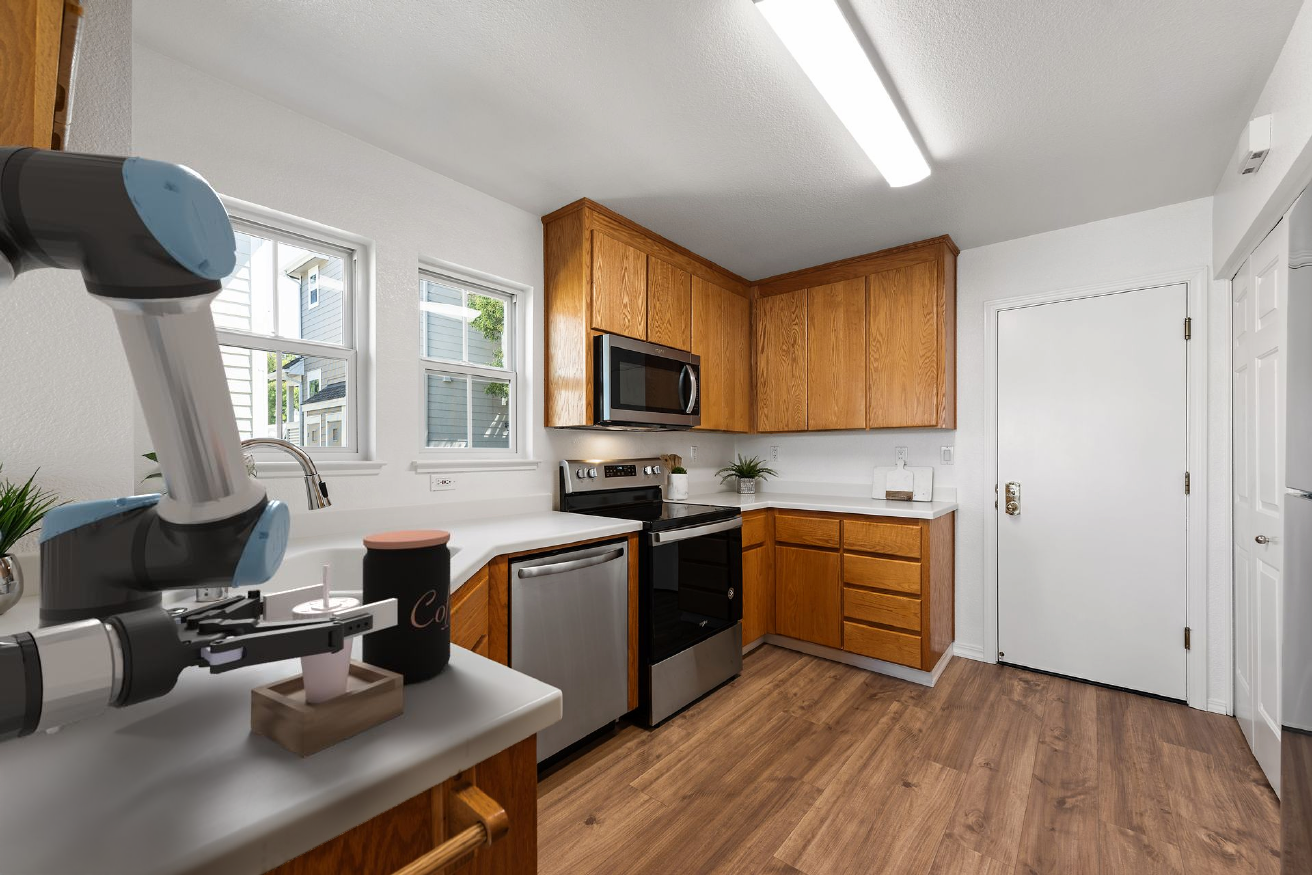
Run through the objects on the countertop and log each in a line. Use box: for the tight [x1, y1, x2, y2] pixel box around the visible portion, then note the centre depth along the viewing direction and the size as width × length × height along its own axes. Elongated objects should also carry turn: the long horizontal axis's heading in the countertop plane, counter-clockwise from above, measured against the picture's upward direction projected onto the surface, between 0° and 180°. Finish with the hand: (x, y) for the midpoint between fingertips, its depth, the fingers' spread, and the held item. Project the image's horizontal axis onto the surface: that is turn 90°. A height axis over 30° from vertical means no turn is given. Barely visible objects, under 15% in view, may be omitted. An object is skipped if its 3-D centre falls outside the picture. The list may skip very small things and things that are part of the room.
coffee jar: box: [361, 529, 451, 686], centre depth 75 cm, size 11×11×18 cm
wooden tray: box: [250, 658, 404, 758], centre depth 61 cm, size 10×10×4 cm
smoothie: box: [291, 564, 360, 703], centre depth 61 cm, size 6×6×14 cm
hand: (358, 602), depth 64 cm, fingers open, 13 cm apart
